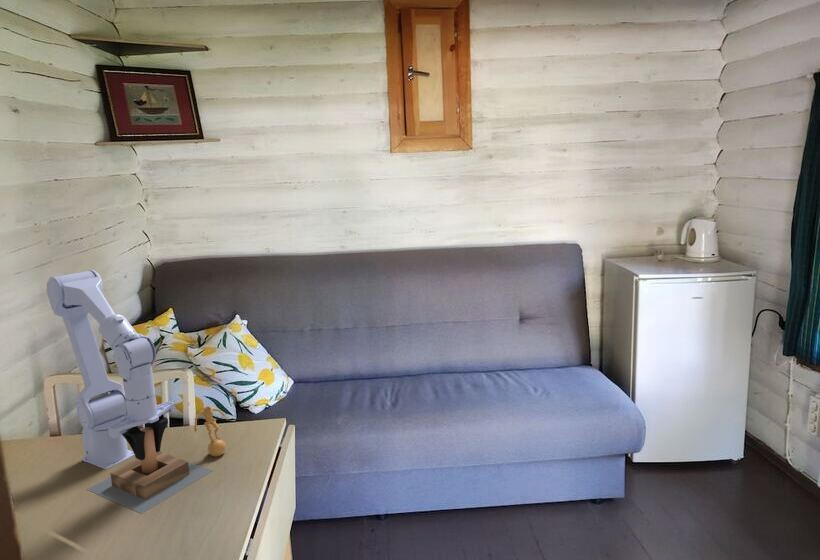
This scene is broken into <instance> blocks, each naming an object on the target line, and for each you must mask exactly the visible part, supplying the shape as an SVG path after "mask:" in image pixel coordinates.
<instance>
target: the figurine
mask: <svg viewBox="0 0 820 560" xmlns="http://www.w3.org/2000/svg"><path fill="white" fill-rule="evenodd" d="M214 412H219V413H220V414H221V415H222V416H223V417H224V418H225V419H226V420H228V418H227V416H226V414H225V413H224V412H223V411H222V410H221V409H220V408H215V407H212V406H210V405H207V406H203V407H202V409H201V411H200V412H199V414H197V415H196V416H195V417H194V429H193V430H194V433H197V432H198V430H199V429H198V428H197V426H198V419H199V418H200V417H202V416H203V417H204V419H205V422H204V427H205V428H206V430H207V431H208V433H207V435H208V438H209V439H210V442H209V444H208V446H207V452H208V453H209V454H210V455H211V456H212V457H215V458H216V457H220V456H222V455H224V453H225V451H226V450H227V448H226V442H225V441H223V439H221V438H219V436H218V433H217V432H218V431H219V428H220V427H219V425H218V424H217V422H216V419H215V418H213V414H214ZM213 428H214V433H213V434H214V437H215V439H213V437H212V429H213Z"/></svg>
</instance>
